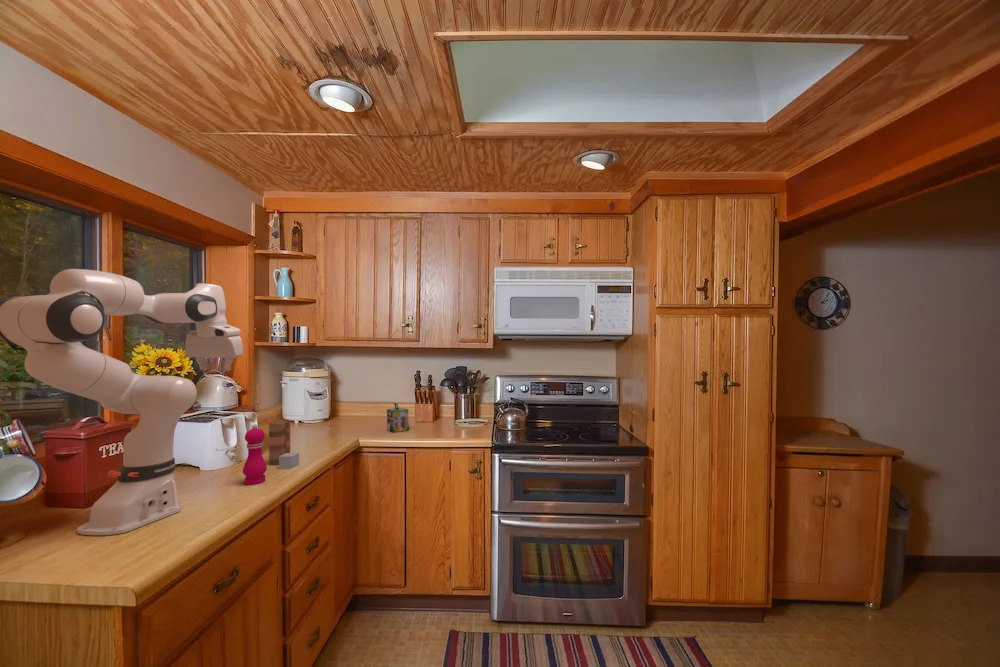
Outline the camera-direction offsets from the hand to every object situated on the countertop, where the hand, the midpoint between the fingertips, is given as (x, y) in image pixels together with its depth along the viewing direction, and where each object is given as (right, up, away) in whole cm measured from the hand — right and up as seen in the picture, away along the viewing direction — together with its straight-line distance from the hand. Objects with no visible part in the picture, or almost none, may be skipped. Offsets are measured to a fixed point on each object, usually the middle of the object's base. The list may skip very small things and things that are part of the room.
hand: (215, 370), depth 147 cm
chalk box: (+43, -40, +82) cm, 101 cm away
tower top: (+11, -28, +22) cm, 37 cm away
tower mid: (+11, -34, +22) cm, 42 cm away
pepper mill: (+14, -39, 0) cm, 41 cm away
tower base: (+11, -39, +22) cm, 46 cm away
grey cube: (+17, -39, +16) cm, 46 cm away
